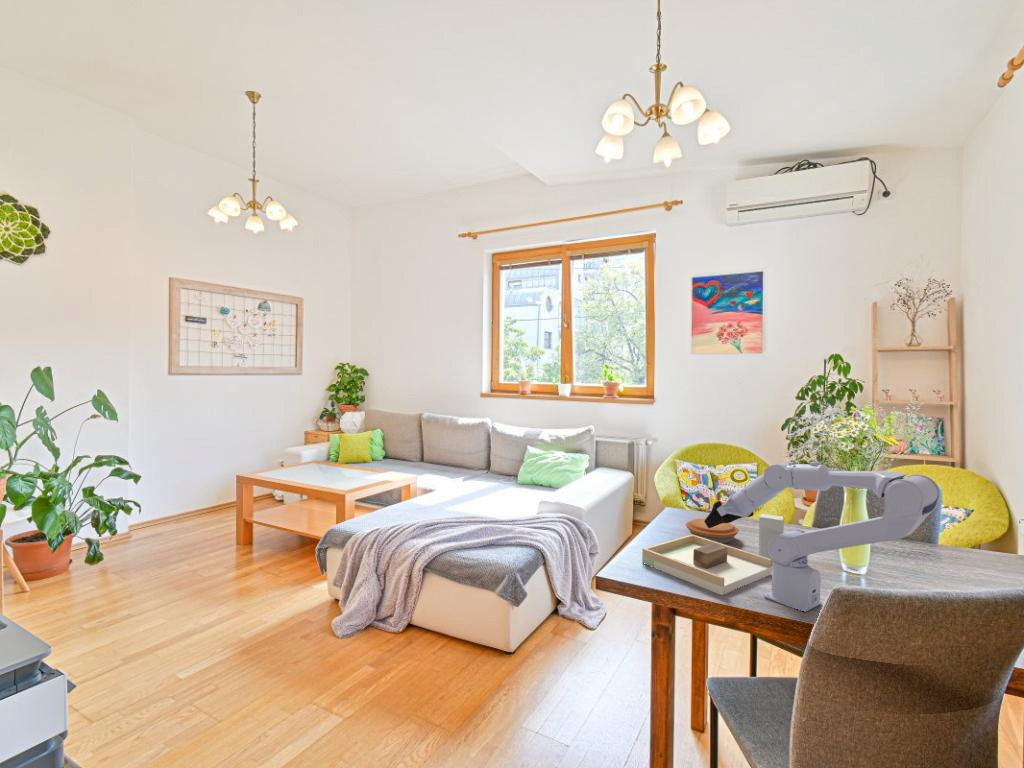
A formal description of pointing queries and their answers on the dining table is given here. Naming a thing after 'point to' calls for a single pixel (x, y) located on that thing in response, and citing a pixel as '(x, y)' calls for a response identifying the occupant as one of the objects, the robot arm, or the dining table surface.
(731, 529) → the pie
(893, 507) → the robot arm
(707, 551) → the walnut block
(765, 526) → the skincare box
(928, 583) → the dining table surface
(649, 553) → the shallow cream tray
